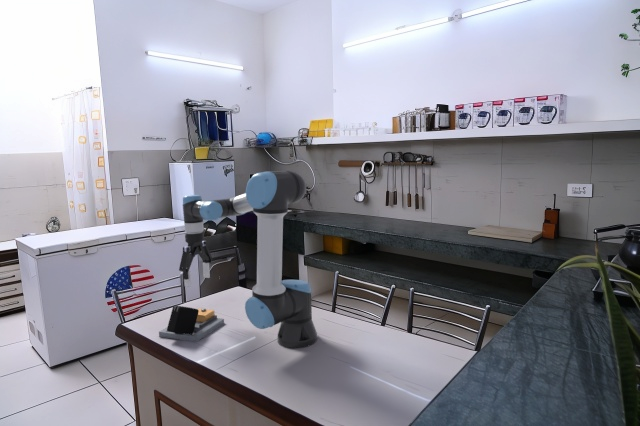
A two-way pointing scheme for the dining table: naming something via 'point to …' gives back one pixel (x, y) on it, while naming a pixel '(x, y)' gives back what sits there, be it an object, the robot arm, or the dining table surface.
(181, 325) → the electronic device
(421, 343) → the dining table surface
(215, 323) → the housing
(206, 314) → the orange block with knob
